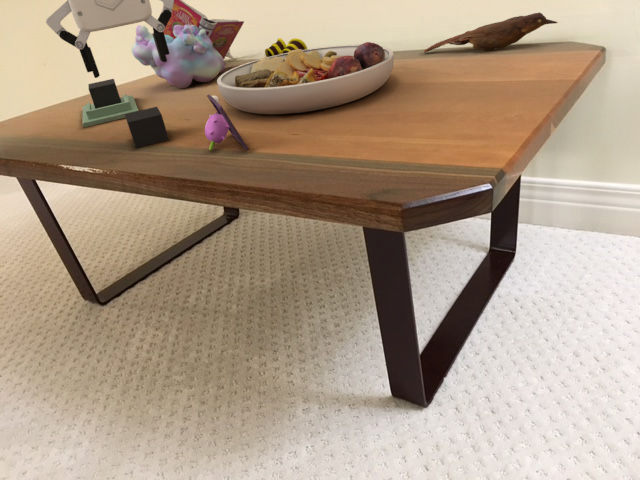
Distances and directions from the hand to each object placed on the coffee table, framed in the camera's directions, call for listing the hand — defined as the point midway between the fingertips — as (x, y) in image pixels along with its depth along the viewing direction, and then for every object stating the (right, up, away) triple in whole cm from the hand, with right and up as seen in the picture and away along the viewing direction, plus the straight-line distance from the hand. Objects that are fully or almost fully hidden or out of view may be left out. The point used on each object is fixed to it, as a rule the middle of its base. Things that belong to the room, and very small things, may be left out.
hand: (131, 68), depth 78 cm
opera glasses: (+20, +16, +45) cm, 52 cm away
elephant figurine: (+2, +19, +57) cm, 61 cm away
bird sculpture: (+60, +12, +26) cm, 66 cm away
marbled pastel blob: (-1, +11, +43) cm, 45 cm away
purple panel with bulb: (+14, -12, -3) cm, 19 cm away
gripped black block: (+1, -9, +5) cm, 11 cm away
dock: (-13, 0, +26) cm, 30 cm away
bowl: (+26, 0, +16) cm, 30 cm away
